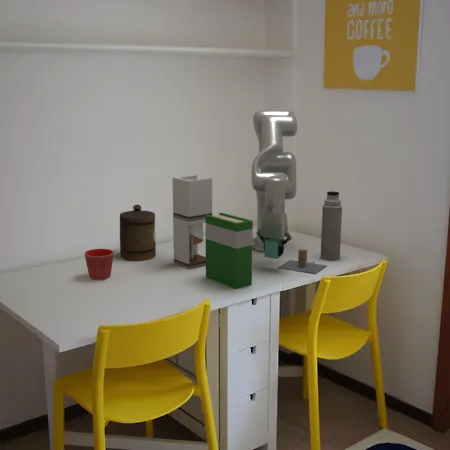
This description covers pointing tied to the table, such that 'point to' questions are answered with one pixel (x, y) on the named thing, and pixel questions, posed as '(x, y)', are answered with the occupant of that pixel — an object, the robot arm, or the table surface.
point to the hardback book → (229, 250)
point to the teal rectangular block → (271, 248)
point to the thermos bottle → (331, 227)
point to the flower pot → (99, 263)
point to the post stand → (302, 264)
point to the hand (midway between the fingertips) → (273, 253)
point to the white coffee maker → (190, 218)
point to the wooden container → (137, 235)
